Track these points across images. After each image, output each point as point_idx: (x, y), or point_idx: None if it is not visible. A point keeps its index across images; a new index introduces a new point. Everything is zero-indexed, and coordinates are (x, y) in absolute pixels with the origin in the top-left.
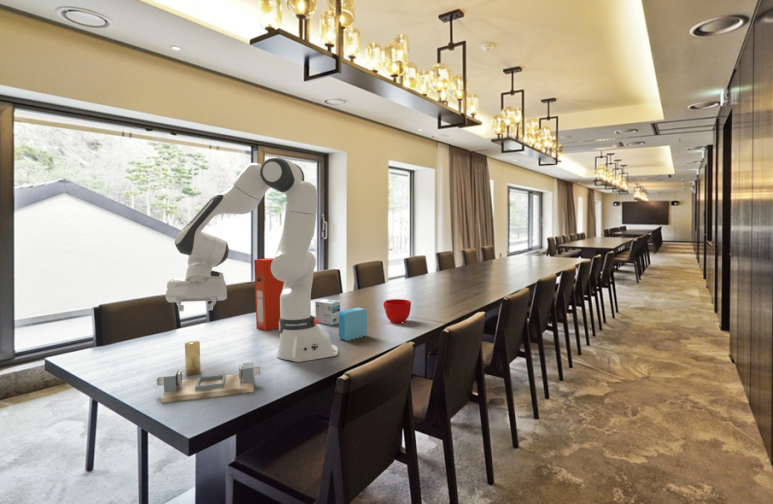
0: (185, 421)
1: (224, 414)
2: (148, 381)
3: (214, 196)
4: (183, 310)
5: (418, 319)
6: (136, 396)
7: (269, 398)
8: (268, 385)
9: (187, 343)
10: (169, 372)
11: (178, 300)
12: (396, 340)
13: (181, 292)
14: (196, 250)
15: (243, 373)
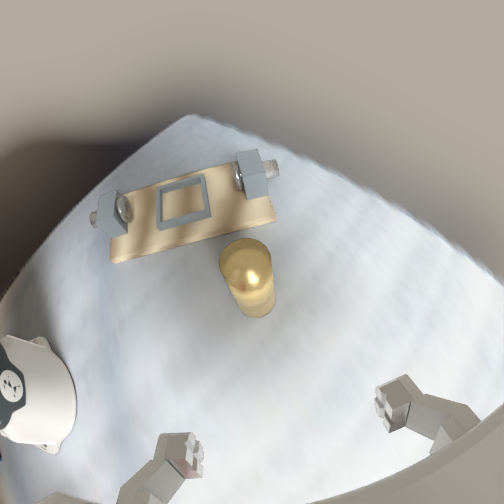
0: (200, 131)
1: (157, 147)
2: (342, 247)
3: None
4: (376, 404)
5: None
6: (316, 183)
7: (103, 187)
8: (97, 227)
9: (260, 255)
10: (256, 165)
11: (453, 416)
12: None
13: (482, 472)
14: None
15: (119, 196)
